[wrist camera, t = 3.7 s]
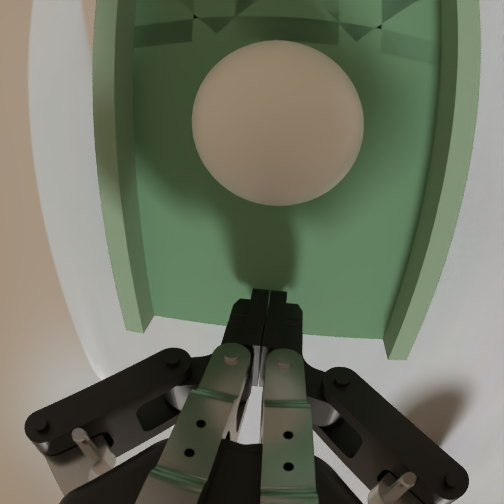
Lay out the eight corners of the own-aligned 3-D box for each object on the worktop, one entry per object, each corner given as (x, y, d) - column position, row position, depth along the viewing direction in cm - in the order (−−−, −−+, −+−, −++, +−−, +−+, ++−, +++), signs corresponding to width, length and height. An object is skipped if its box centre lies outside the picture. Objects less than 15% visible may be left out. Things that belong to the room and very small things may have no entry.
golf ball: (267, 27, 10) (246, -15, 5) (375, 110, 10) (425, 122, 6) (190, 131, 12) (129, 156, 7) (293, 205, 13) (289, 271, 8)
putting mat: (160, -117, 7) (126, -152, 3) (422, -106, 6) (449, -142, 2) (154, 287, 19) (122, 336, 15) (390, 310, 17) (408, 367, 13)
